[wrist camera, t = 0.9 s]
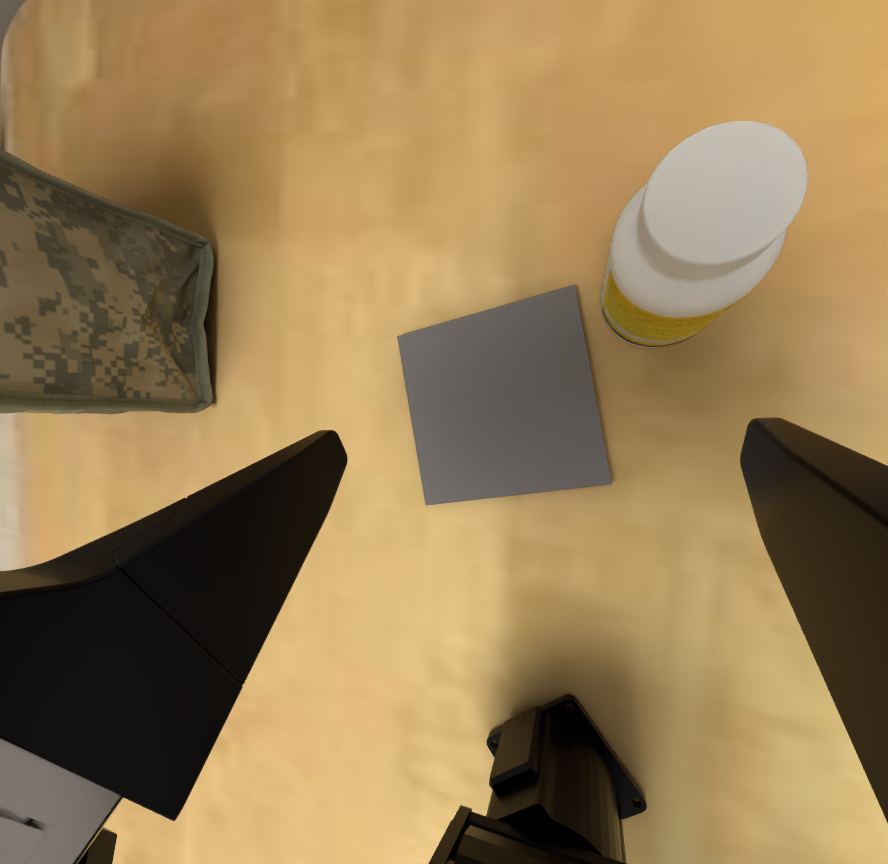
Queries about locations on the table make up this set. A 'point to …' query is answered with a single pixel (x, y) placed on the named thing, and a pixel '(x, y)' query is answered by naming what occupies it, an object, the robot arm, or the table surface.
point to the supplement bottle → (701, 231)
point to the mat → (505, 402)
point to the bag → (97, 302)
